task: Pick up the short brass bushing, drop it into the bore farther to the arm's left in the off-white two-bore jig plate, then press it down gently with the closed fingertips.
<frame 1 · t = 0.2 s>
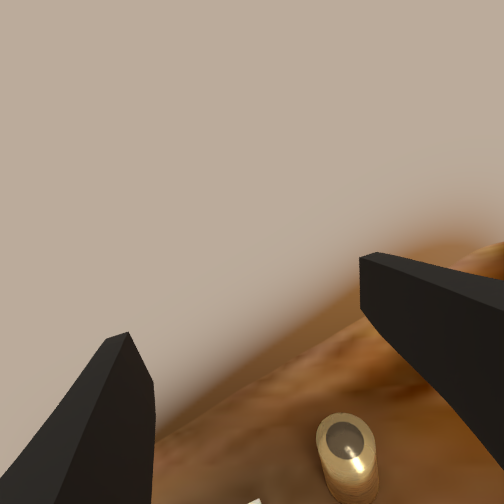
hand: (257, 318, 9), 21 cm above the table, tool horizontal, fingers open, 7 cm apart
brass bushing: (351, 477, 23), on the table
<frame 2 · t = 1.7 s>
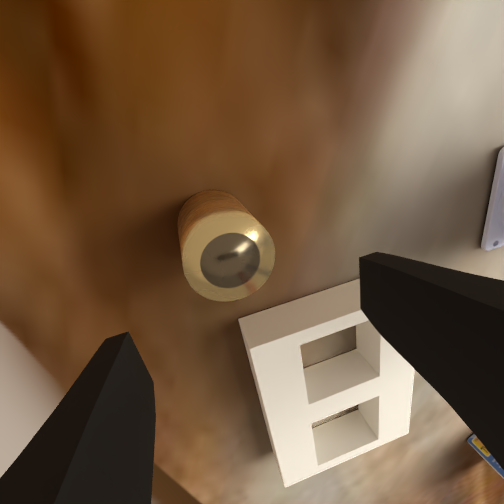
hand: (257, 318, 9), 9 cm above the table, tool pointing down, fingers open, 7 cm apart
ink cartridge box: (492, 433, 39), on the table
jig plate: (325, 369, 25), on the table
brass bushing: (213, 224, 17), on the table
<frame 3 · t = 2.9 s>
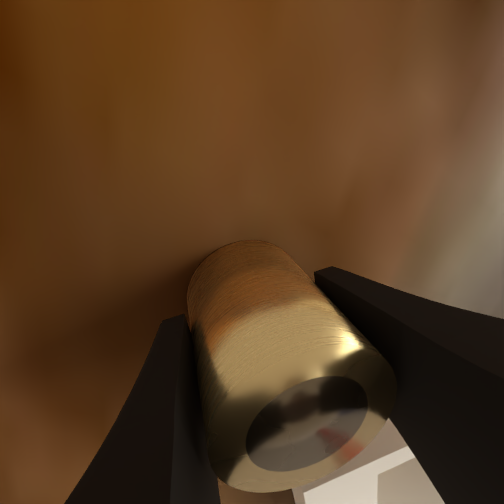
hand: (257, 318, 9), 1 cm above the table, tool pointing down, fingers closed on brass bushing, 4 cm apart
jig plate: (386, 463, 18), on the table
brass bushing: (245, 294, 10), on the table, touching gripper
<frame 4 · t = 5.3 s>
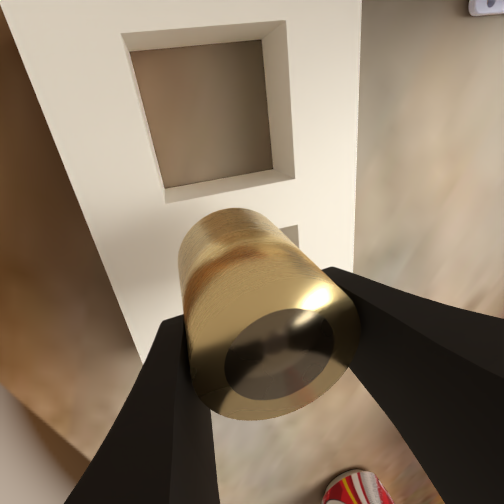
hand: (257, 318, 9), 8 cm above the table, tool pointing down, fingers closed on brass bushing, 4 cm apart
soda can: (344, 482, 33), on the table
jig plate: (224, 199, 16), on the table
brass bushing: (233, 260, 11), point 6 cm above the table, touching gripper
when the fingers open (6 cm above the table, at t = 6.4 s): brass bushing drops 3 cm, resting in jig plate.
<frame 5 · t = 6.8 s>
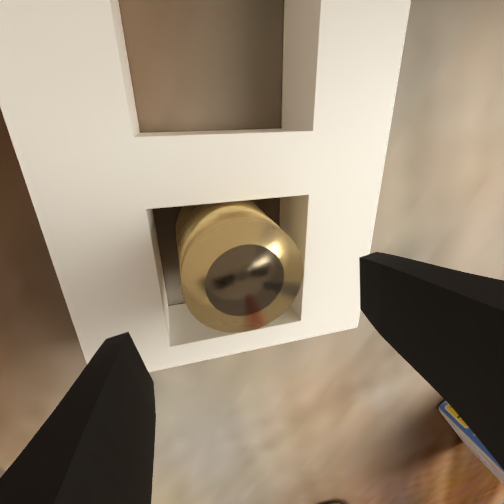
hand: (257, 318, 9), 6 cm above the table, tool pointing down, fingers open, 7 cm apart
ink cartridge box: (471, 406, 28), on the table
jig plate: (216, 158, 12), on the table
brass bushing: (219, 229, 14), resting in jig plate
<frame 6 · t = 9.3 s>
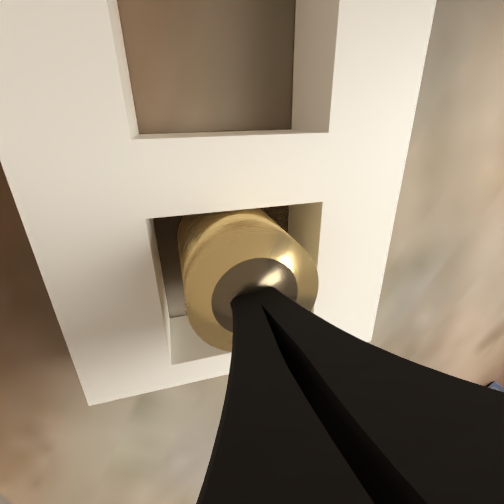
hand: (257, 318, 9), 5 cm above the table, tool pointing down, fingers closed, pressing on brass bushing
jig plate: (221, 161, 12), on the table
brass bushing: (224, 237, 13), resting in jig plate, touching gripper
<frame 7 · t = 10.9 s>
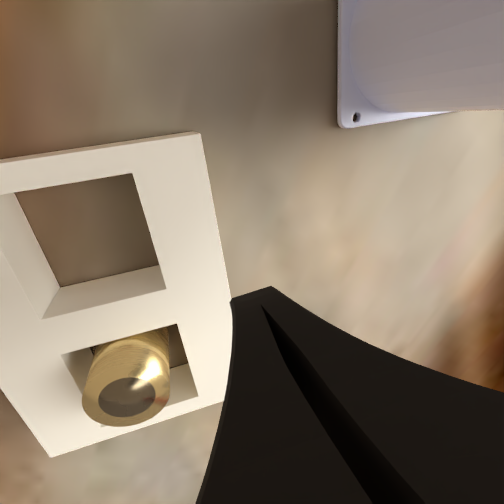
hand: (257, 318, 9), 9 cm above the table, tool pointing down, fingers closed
jig plate: (120, 291, 17), on the table
brass bushing: (135, 332, 19), resting in jig plate
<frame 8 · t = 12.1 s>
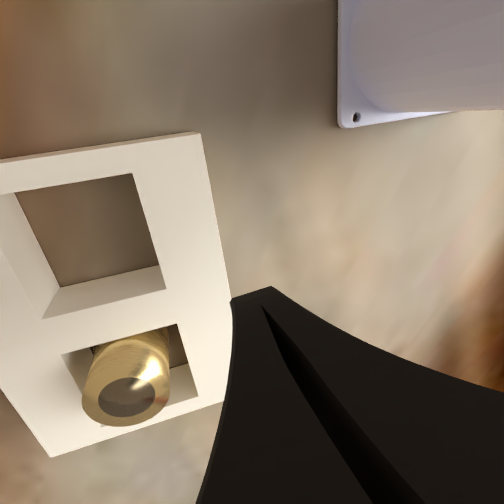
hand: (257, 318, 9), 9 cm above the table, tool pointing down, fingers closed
jig plate: (120, 291, 17), on the table
brass bushing: (135, 332, 19), resting in jig plate
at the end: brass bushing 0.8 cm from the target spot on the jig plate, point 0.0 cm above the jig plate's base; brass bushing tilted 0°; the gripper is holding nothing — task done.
